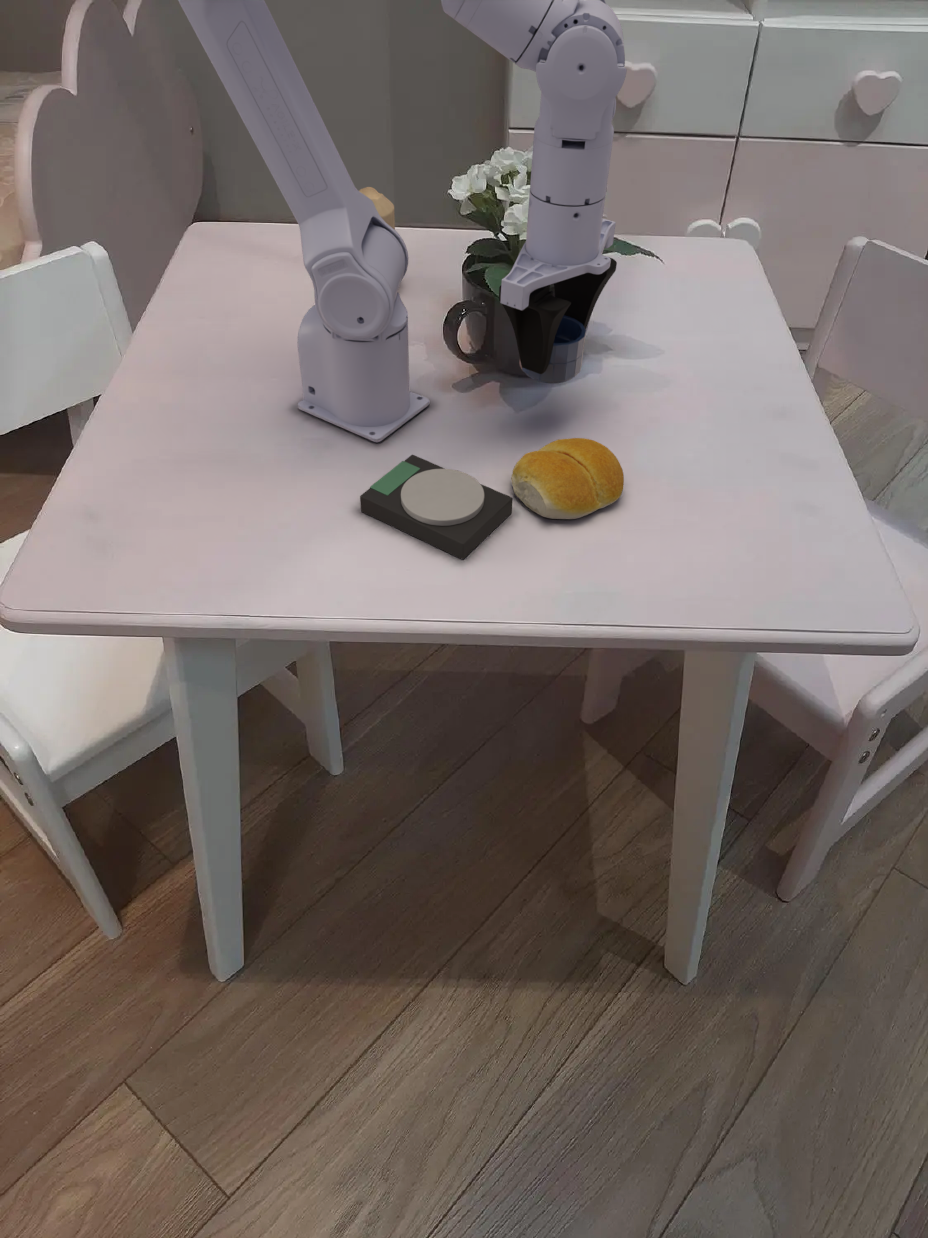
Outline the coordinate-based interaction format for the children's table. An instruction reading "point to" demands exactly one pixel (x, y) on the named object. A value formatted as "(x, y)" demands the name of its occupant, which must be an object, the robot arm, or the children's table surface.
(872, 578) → the children's table surface
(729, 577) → the children's table surface
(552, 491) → the bread roll
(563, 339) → the cup
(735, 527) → the children's table surface
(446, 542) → the scale
